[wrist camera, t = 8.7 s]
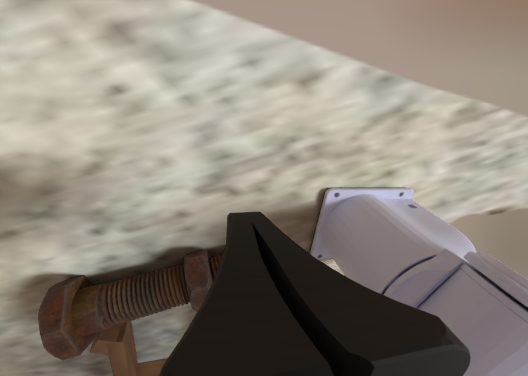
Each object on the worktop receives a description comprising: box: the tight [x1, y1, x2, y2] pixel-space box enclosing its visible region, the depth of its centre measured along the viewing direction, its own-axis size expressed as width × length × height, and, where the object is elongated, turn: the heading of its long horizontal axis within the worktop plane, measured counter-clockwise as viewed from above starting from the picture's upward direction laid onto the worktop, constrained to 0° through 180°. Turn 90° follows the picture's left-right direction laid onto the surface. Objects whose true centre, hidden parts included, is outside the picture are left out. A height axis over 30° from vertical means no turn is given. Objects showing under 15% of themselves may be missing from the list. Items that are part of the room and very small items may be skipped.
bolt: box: [38, 250, 223, 360], centre depth 21 cm, size 6×5×15 cm
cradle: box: [90, 320, 167, 376], centre depth 25 cm, size 13×10×3 cm
